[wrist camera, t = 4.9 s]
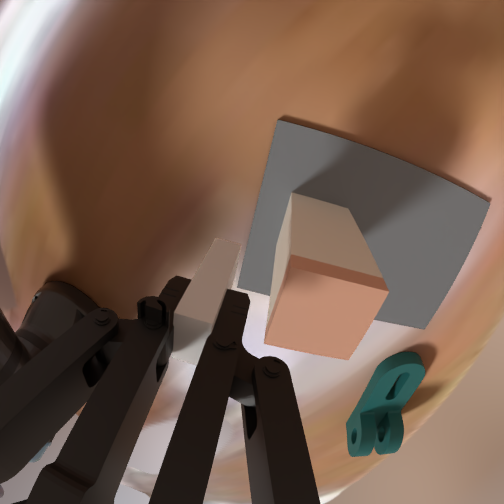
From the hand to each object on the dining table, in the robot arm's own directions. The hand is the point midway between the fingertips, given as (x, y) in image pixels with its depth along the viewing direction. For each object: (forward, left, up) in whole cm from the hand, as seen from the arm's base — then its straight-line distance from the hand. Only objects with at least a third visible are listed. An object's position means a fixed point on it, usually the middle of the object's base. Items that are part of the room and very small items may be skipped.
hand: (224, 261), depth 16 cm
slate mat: (+12, 0, -10) cm, 15 cm away
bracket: (+25, -21, -10) cm, 34 cm away
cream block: (+6, 0, -9) cm, 11 cm away
